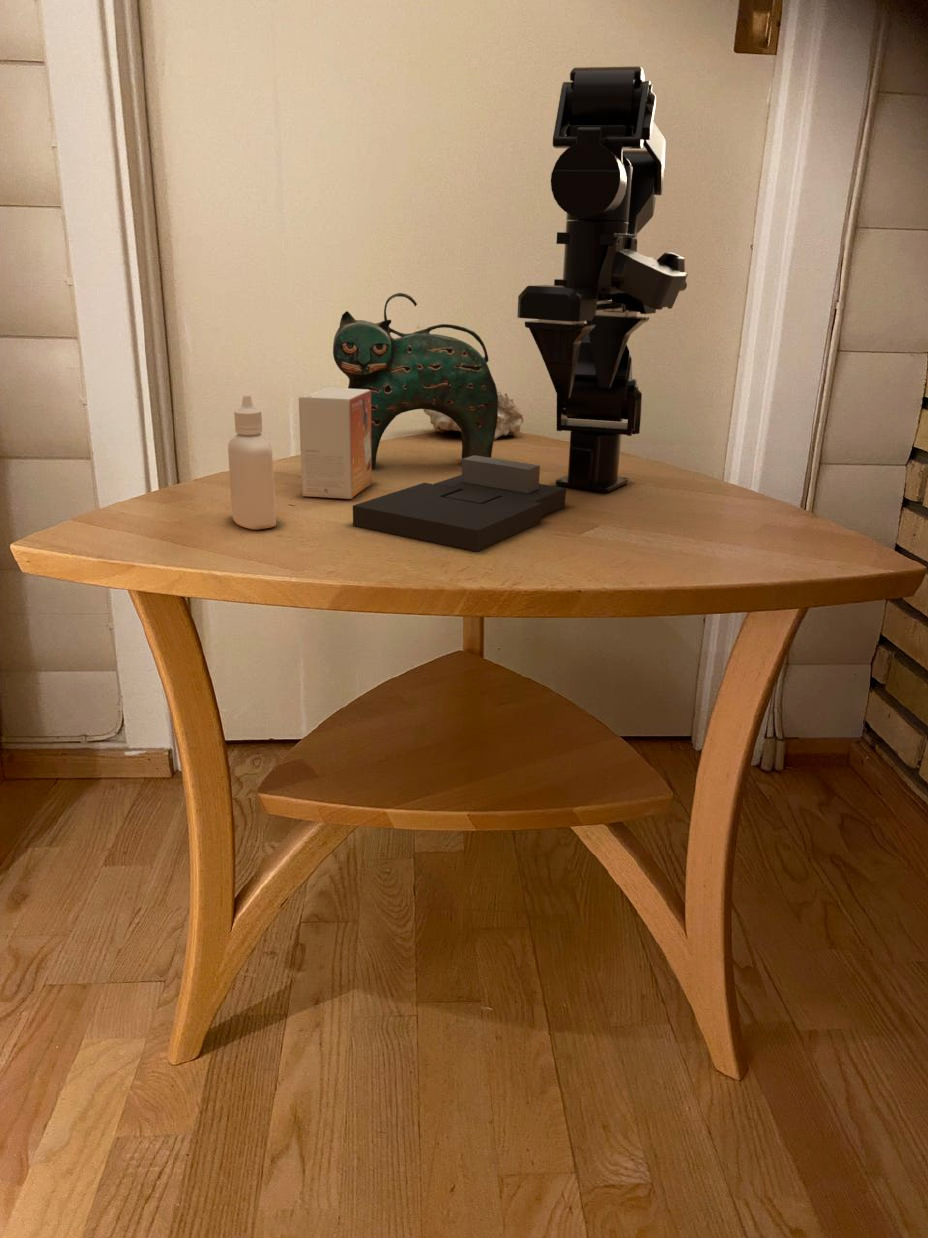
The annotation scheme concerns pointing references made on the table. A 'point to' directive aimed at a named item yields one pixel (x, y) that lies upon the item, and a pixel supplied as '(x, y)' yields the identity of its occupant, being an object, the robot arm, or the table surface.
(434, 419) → the seashell
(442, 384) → the ceramic cat
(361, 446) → the small box
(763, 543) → the table surface
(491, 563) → the table surface
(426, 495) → the charcoal pad
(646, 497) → the table surface
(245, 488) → the eye dropper bottle
